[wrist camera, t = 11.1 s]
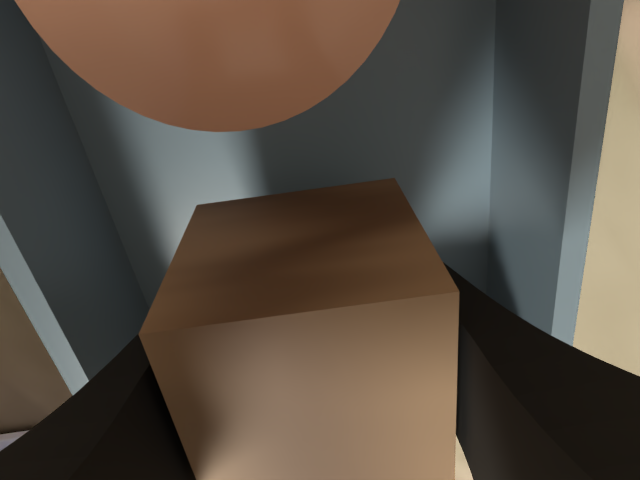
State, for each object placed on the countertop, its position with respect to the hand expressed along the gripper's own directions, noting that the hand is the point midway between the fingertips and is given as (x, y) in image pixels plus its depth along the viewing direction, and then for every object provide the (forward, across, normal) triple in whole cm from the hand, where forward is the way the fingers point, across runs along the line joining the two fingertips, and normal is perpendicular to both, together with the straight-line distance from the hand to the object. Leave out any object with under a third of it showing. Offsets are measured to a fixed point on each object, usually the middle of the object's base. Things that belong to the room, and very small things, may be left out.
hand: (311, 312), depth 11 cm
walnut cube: (+2, 0, 0) cm, 2 cm away
